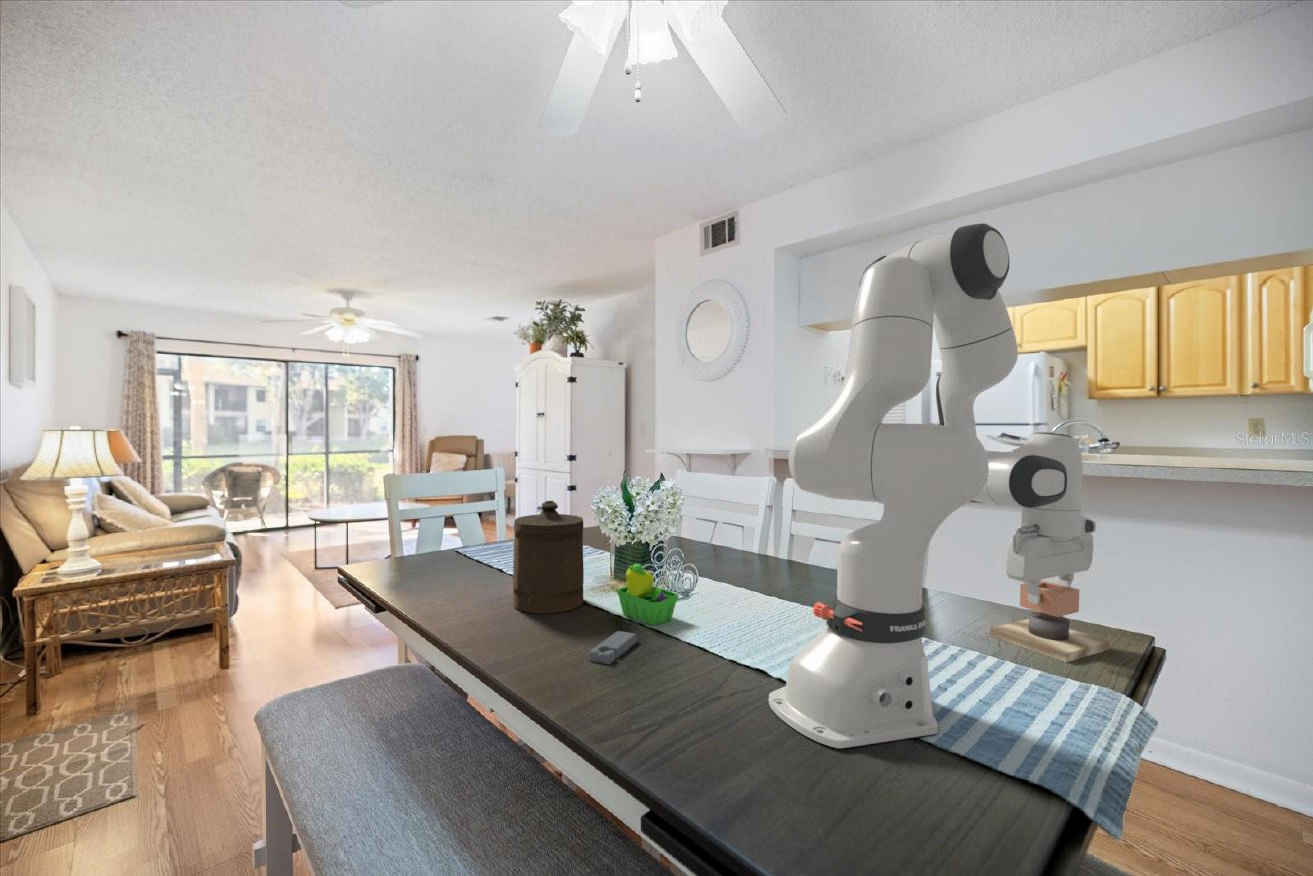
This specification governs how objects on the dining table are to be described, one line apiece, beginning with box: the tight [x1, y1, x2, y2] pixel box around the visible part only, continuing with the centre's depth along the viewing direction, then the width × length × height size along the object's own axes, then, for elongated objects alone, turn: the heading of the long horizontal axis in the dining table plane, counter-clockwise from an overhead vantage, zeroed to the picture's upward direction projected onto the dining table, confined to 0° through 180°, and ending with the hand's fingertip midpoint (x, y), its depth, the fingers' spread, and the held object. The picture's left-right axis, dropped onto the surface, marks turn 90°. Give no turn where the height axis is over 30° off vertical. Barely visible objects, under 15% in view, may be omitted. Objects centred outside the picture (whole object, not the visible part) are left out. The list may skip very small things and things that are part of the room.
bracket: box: [588, 630, 638, 665], centre depth 97 cm, size 4×10×2 cm, turn 157°
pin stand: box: [989, 588, 1111, 663], centre depth 102 cm, size 13×13×10 cm
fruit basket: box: [616, 563, 680, 626], centre depth 114 cm, size 11×9×11 cm
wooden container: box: [512, 500, 585, 615], centre depth 122 cm, size 15×15×22 cm
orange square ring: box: [1019, 579, 1080, 617], centre depth 102 cm, size 6×6×4 cm
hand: (1048, 599), depth 102 cm, fingers closed on orange square ring, 6 cm apart
